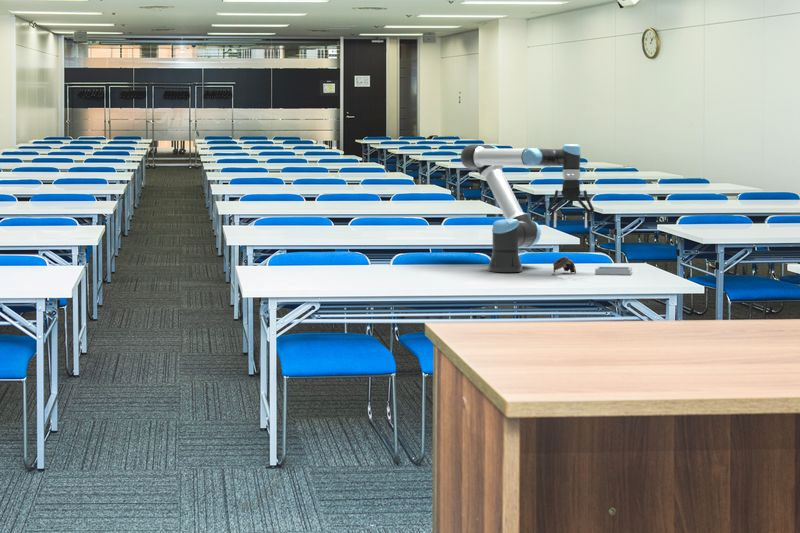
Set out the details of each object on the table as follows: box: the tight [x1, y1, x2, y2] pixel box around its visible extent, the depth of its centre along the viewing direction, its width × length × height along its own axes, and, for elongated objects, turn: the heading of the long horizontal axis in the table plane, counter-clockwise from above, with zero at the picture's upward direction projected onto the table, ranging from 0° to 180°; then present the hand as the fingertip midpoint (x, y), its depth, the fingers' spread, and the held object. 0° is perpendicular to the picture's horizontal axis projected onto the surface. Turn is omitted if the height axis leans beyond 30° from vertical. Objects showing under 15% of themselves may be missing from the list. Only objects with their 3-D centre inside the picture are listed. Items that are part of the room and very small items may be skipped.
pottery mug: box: [552, 256, 577, 274], centre depth 478 cm, size 12×9×8 cm
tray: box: [594, 266, 633, 276], centre depth 477 cm, size 15×16×2 cm
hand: (570, 227), depth 477 cm, fingers open, 13 cm apart
